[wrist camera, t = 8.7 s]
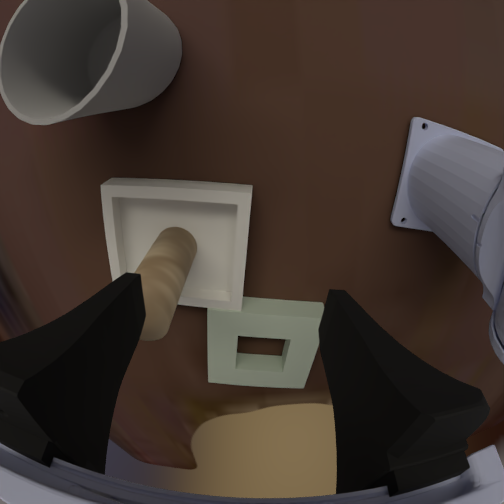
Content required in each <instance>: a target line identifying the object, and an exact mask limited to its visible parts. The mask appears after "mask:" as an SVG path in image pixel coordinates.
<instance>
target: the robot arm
mask: <svg viewBox="0 0 504 504" xmlns="http://www.w3.org/2000/svg"><path fill="white" fill-rule="evenodd" d="M423 123H425V129H422V124H423ZM402 218H405V220H404V221H403V222H401V219H402ZM390 220H391V222H392V224H393V225H394V226H399V227H406V228H412V229H419V230H426V231H432V232H434V233H435V234H436V235H437V236H438V237H439V238H440V239H441V240H442V241H443V242H444V243H445V244H446V245H447V246H448V247H449V248H450V249H451V250H452V251H453V252H454V253H455V254H456V255H457V256H458V257H459V258H460V259H461V260H462V261H463V262H464V263H465V264H466V265H467V266H468V268H469V269H470V270H471V271H472V272H473V273H474V274H475V275H476V276H477V277H478V278H479V280H480V281H481V282H482V284H483V288H484V291H483V299H484V300H485V301H486V302H487V304H488V305H489V306H490V307H491V309H492V310H493V312H492V315H491V318H490V322H489V338H490V342H491V345H492V347H493V349H494V351H495V353H496V355H497V356H498V358H499V359H500V361H501V362H502V363H503V364H504V151H503V150H502V149H501V148H499V147H497V146H494V145H492V144H490V143H488V142H485V141H483V140H481V139H478V138H476V137H473V136H471V135H468V134H466V133H463V132H460V131H458V130H455V129H452V128H449V127H447V126H444V125H441V124H438V123H435V122H432V121H429V120H426V119H423V118H419V117H414V118H413V119H412V120H411V123H410V129H409V135H408V141H407V146H406V152H405V157H404V162H403V167H402V171H401V176H400V181H399V185H398V189H397V194H396V198H395V202H394V206H393V210H392V214H391V218H390ZM145 318H146V310H145V304H144V296H143V289H142V281H141V274H137V273H128V272H126V273H124V274H123V275H121V276H120V277H118V278H117V279H116V280H114V281H113V282H111V283H110V284H109V285H107V286H106V287H105V288H103V289H102V290H100V291H99V292H98V293H96V294H95V295H94V296H92V297H91V298H89V299H88V300H86V301H85V302H83V303H82V304H80V305H79V306H77V307H76V308H74V309H73V310H71V311H70V312H68V313H66V314H65V315H63V316H61V317H59V318H58V319H56V320H54V321H52V322H50V323H48V324H46V325H44V326H42V327H40V328H37V329H35V330H33V331H31V332H28V333H26V334H23V335H21V336H18V337H15V338H12V339H9V340H6V341H3V342H0V499H1V500H3V501H4V502H6V503H8V504H119V503H118V502H121V503H124V504H501V503H502V502H504V468H503V466H502V463H501V461H500V458H499V455H498V453H497V450H496V448H495V445H491V446H489V447H486V448H484V449H482V450H479V451H477V452H475V453H473V454H471V455H469V456H468V457H466V454H465V452H464V451H465V450H466V449H467V448H468V444H467V441H466V439H467V438H468V437H469V436H470V435H471V434H472V433H473V432H474V431H475V430H476V429H477V428H478V427H479V426H480V425H481V424H482V423H483V422H484V421H485V420H486V418H487V416H488V414H489V411H490V407H489V405H488V403H487V401H486V399H485V397H484V395H483V393H482V391H481V390H480V389H478V388H476V387H473V386H471V385H468V384H466V383H463V382H461V381H458V380H456V379H454V378H452V377H450V376H448V375H446V374H445V373H443V372H441V371H439V370H437V369H436V368H434V367H432V366H431V365H429V364H427V363H426V362H424V361H423V360H421V359H420V358H418V357H417V356H415V355H414V354H413V353H411V352H410V351H409V350H407V349H406V348H405V347H403V346H402V345H401V344H400V343H398V342H397V341H396V340H395V339H394V338H393V337H391V336H390V335H389V334H388V333H387V332H386V331H385V330H384V329H383V328H382V327H381V326H379V325H378V324H377V323H376V322H375V321H374V320H373V319H372V318H371V317H370V316H369V315H368V314H367V313H366V312H365V310H364V309H363V308H362V307H361V306H360V305H359V304H358V303H357V302H356V301H355V300H354V299H353V298H352V297H351V296H350V295H349V294H348V293H347V292H346V291H345V290H331V289H329V293H328V297H327V300H326V304H325V307H324V311H323V315H322V318H321V321H320V325H319V328H318V333H319V343H320V351H321V356H322V360H323V364H324V368H325V372H326V377H327V381H328V385H329V389H330V393H331V398H332V403H333V409H334V420H335V431H336V447H337V484H336V486H337V487H336V494H334V495H325V496H314V497H299V498H235V497H220V496H209V495H200V494H191V493H185V492H177V491H172V490H166V489H161V488H156V487H150V486H146V485H141V484H137V483H132V482H129V481H124V480H121V479H117V478H114V477H110V476H107V475H105V464H106V454H107V446H108V439H109V433H110V427H111V422H112V417H113V412H114V408H115V404H116V400H117V396H118V392H119V388H120V386H121V383H122V380H123V377H124V375H125V372H126V370H127V367H128V365H129V363H130V360H131V358H132V355H133V353H134V351H135V348H136V346H137V343H138V341H139V339H140V336H141V333H142V329H143V325H144V322H145ZM113 500H114V501H113ZM115 501H117V502H115Z"/></svg>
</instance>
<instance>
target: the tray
mask: <svg viewBox="0 0 504 504" xmlns="http://www.w3.org/2000/svg"><path fill="white" fill-rule="evenodd" d="M252 188H253V185H245V184H233V183H220V182H206V181H189V180H170V179H145V178H111V179H109V180H108V181H106V182H104V183H103V184H101V198H102V208H103V218H104V226H105V234H106V242H107V249H108V256H109V262H110V268H111V274H112V280H113V281H114V280H116V279H117V278H118V277H120V276H121V275H123V274H124V273H126V272H128V273H134V272H135V271H136V269H137V268H138V266H139V265H140V263H141V261H142V260H143V258H144V257H145V255H146V254H147V252H148V251H149V249H150V248H151V246H152V245H153V243H154V242H155V240H156V239H157V237H158V236H159V234H160V233H161V232H162V231H163V230H164V229H166V228H169V227H180V228H183V229H185V230H187V231H188V232H190V233H191V234H192V235H193V237H194V238H195V240H196V243H197V252H196V255H195V258H194V260H193V263H192V266H191V268H190V271H189V274H188V276H187V279H186V282H185V285H184V287H183V290H182V293H181V295H180V298H179V301H178V305H187V306H196V307H205V308H215V309H225V310H235V311H241V309H242V298H243V287H244V276H245V264H246V253H247V242H248V231H249V220H250V210H251V199H252Z"/></svg>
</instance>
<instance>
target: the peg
mask: <svg viewBox="0 0 504 504" xmlns="http://www.w3.org/2000/svg"><path fill="white" fill-rule="evenodd" d="M196 252H197V243H196V240H195V238H194V237H193V235H192V234H191V233H190V232H188V231H187V230H185V229H183V228H180V227H169V228H166V229H164V230H163V231H162V232H161V233H160V234H159V236H158V237H157V239H156V240H155V242H154V243H153V245H152V246H151V248H150V249H149V251H148V252H147V254H146V255H145V257H144V258H143V260H142V261H141V263H140V265H139V266H138V268H137V269H136V271H135V272H134V273H137V274H141V281H142V289H143V296H144V304H145V310H146V318H145V322H144V325H143V329H142V333H141V336H140V339H141V340H146V341H154V340H158V339H161V338H162V337H164V336H165V335H166V334H167V332H168V329H169V327H170V324H171V321H172V318H173V315H174V312H175V309H176V307H177V304H178V301H179V298H180V295H181V293H182V290H183V287H184V285H185V282H186V279H187V276H188V274H189V271H190V268H191V266H192V263H193V260H194V258H195V255H196Z"/></svg>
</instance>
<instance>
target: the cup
mask: <svg viewBox="0 0 504 504" xmlns="http://www.w3.org/2000/svg"><path fill="white" fill-rule="evenodd" d="M181 57H182V40H181V37H180V35H179V32H178V29H177V28H176V26H175V25H174V24H173V22H172V21H171V20H170V19H169V17H168V16H166V15H165V14H164V13H163V12H161V11H160V10H159V9H158V8H156V7H155V6H154V5H152V4H151V3H150V2H148V1H147V0H24V2H23V3H22V4H21V5H20V6H19V7H18V9H17V11H16V12H15V14H14V15H13V17H12V19H11V20H10V22H9V24H8V26H7V28H6V31H5V34H4V36H3V39H2V42H1V45H0V92H1V96H2V98H3V100H4V101H5V103H6V105H7V107H8V109H9V110H10V111H11V112H12V113H13V114H14V115H15V116H16V117H17V118H19V119H20V120H23V121H25V122H28V123H30V124H35V125H49V124H53V123H57V122H62V121H66V120H70V119H75V118H80V117H85V116H90V115H95V114H100V113H106V112H112V111H118V110H124V109H129V108H135V107H138V106H141V105H143V104H145V103H147V102H149V101H152V100H153V99H154V98H156V97H157V96H158V95H159V94H161V93H162V92H163V91H164V90H165V89H166V88H167V86H168V85H169V84H170V83H171V82H172V80H173V78H174V76H175V74H176V73H177V71H178V69H179V65H180V61H181Z"/></svg>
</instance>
